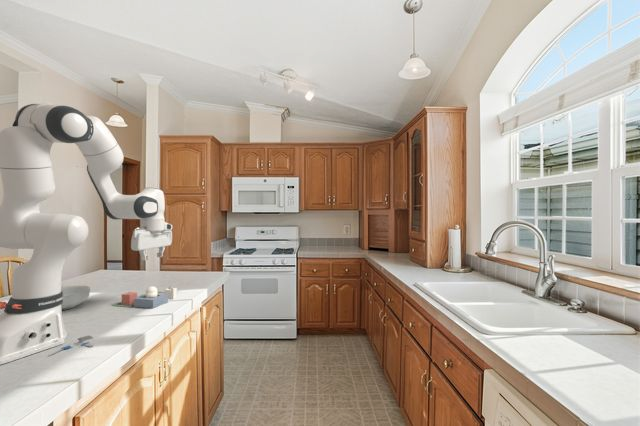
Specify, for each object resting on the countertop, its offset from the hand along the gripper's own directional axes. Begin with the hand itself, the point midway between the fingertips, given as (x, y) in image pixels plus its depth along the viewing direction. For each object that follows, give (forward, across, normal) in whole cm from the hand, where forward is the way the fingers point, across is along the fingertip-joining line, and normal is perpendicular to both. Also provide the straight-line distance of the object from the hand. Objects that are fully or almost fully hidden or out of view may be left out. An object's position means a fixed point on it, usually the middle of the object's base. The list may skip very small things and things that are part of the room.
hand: (152, 258), depth 131 cm
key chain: (+20, -39, -9) cm, 45 cm away
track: (+20, +6, +10) cm, 23 cm away
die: (+20, +11, -1) cm, 22 cm away
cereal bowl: (+20, -12, +30) cm, 38 cm away
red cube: (+20, -2, +10) cm, 22 cm away
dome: (+17, 0, 0) cm, 17 cm away
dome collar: (+20, 0, 0) cm, 20 cm away
